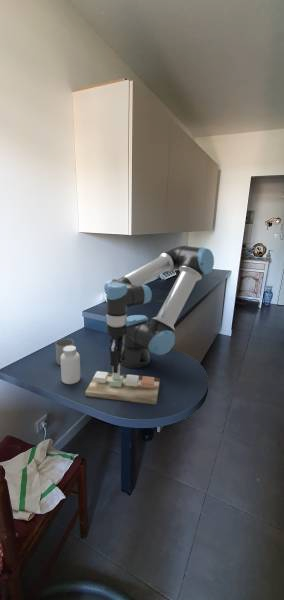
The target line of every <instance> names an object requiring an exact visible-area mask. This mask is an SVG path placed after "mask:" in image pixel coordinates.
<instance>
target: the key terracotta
mask: <svg viewBox="0 0 284 600" xmlns="http://www.w3.org/2000/svg"><path fill="white" fill-rule="evenodd" d="M142 377H143V378H142V382H141V387H146V388H153V386H154V379H155V378H156V377H154V376H146V375H142Z"/></svg>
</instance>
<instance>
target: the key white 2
mask: <svg viewBox="0 0 284 600" xmlns="http://www.w3.org/2000/svg"><path fill="white" fill-rule="evenodd" d="M126 375H127V377H126V380H125V385H128V386H137V384H138V381H139V376H140V375H137V374H126Z"/></svg>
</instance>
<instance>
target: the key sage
mask: <svg viewBox="0 0 284 600" xmlns="http://www.w3.org/2000/svg"><path fill="white" fill-rule="evenodd" d="M122 382H123V376H120V378H119V379H113V375H112V376H111V378H110V380H109V386H117V387H121V385H122Z"/></svg>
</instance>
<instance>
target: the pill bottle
mask: <svg viewBox="0 0 284 600" xmlns="http://www.w3.org/2000/svg"><path fill="white" fill-rule="evenodd" d="M80 358H81V356H80V353H79V352H77V347H76V346H75V345H74V346H66V347H64V348H63V354H62V355H61V358H60V359H61V365H60V373H61V375H60V376H61V381H62V383H64V384H66V385H73V384H77V383H78V382H79V381H80V380H81V359H80Z"/></svg>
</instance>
